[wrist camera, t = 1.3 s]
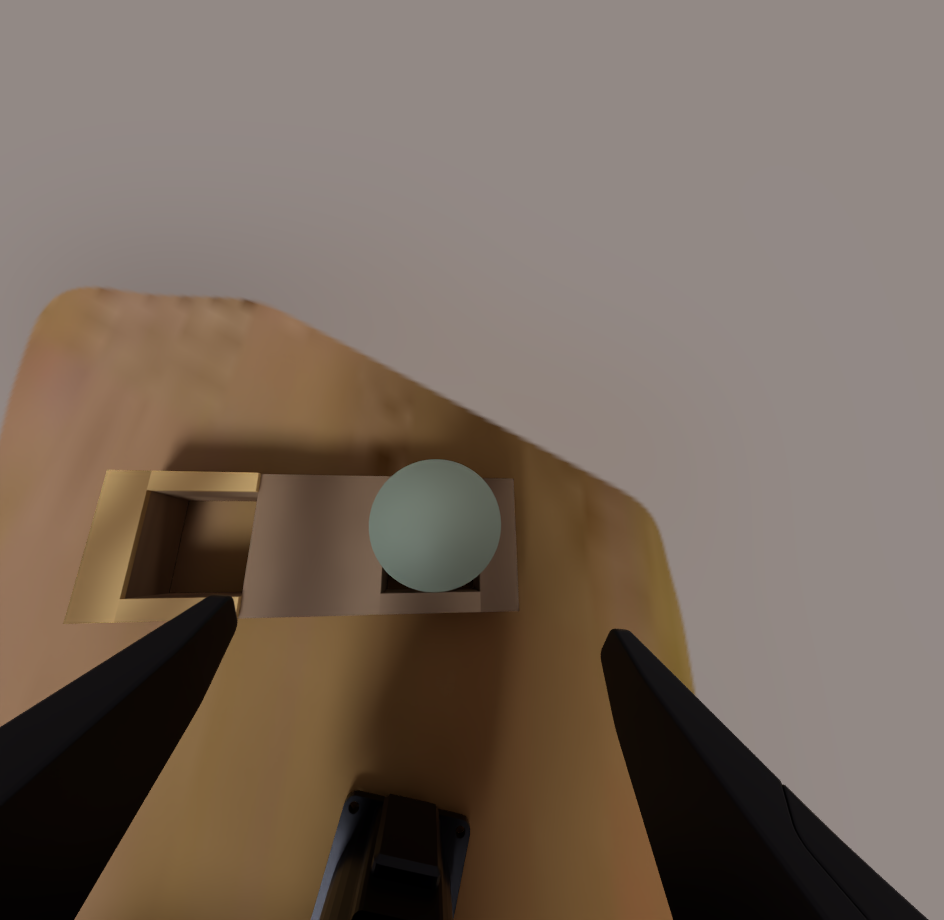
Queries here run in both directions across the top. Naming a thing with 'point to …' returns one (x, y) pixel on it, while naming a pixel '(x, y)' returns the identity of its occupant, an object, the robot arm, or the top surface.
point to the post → (434, 525)
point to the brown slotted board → (266, 550)
